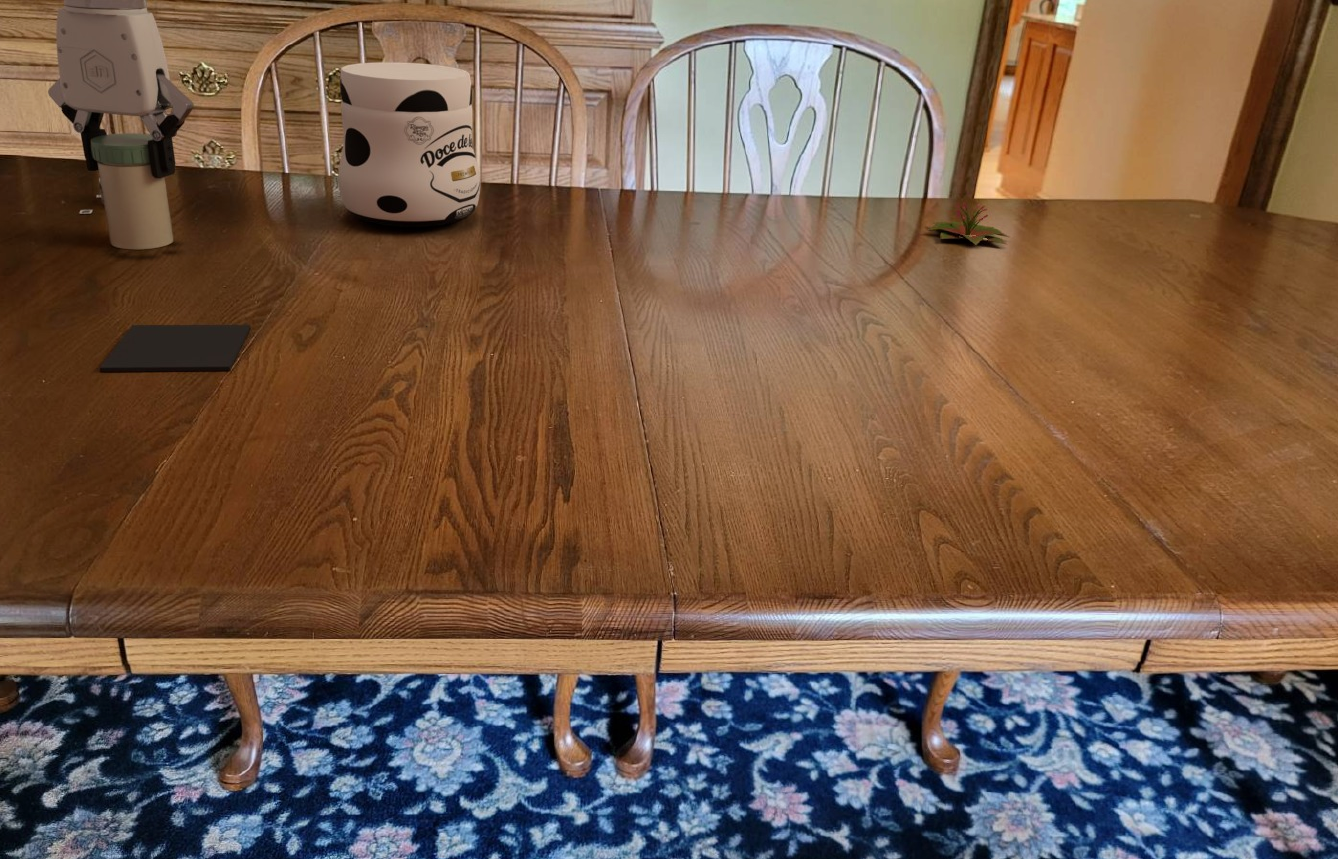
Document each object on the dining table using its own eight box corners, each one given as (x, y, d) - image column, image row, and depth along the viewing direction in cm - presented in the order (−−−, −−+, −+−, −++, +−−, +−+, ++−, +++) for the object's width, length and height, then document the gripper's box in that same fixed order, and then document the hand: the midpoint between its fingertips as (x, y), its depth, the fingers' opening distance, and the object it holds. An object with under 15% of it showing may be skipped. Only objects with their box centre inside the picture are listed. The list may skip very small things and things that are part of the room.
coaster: (99, 372, 86) (99, 367, 85) (132, 328, 94) (132, 324, 94) (230, 370, 88) (229, 366, 87) (250, 328, 96) (250, 324, 96)
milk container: (484, 237, 128) (483, 84, 121) (336, 236, 125) (325, 78, 117) (477, 202, 144) (475, 64, 136) (345, 200, 140) (335, 58, 132)
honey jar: (103, 249, 115) (86, 150, 110) (119, 233, 120) (104, 138, 116) (166, 250, 116) (152, 152, 111) (179, 234, 121) (166, 140, 117)
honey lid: (129, 167, 110) (126, 148, 109) (77, 158, 112) (74, 140, 111) (179, 156, 116) (177, 138, 115) (129, 147, 118) (126, 130, 117)
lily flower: (1001, 230, 149) (1008, 197, 147) (1021, 253, 138) (1028, 218, 136) (916, 223, 149) (922, 190, 147) (929, 245, 139) (935, 211, 137)
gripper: (0, -9, 105) (35, 170, 113) (160, 5, 103) (185, 187, 110) (53, -12, 112) (82, 157, 119) (204, 1, 109) (224, 173, 117)
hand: (131, 170), depth 115 cm, fingers closed on honey lid, 7 cm apart
